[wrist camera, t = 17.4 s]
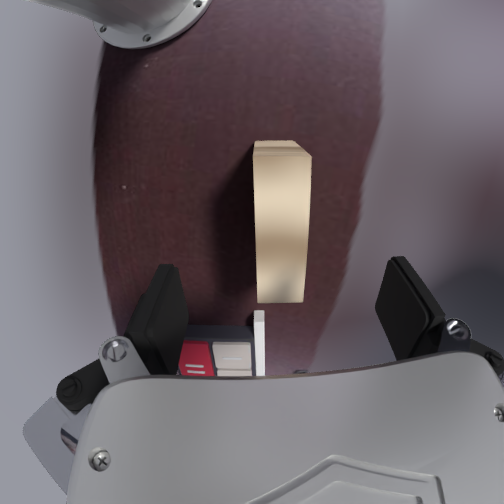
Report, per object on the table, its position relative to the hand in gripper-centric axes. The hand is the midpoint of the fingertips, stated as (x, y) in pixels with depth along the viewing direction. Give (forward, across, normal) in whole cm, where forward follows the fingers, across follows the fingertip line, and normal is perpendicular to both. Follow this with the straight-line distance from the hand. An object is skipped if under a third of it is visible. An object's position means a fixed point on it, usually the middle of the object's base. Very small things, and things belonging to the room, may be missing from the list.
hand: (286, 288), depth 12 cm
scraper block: (+16, -1, +2) cm, 16 cm away
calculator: (+16, +7, +26) cm, 31 cm away
